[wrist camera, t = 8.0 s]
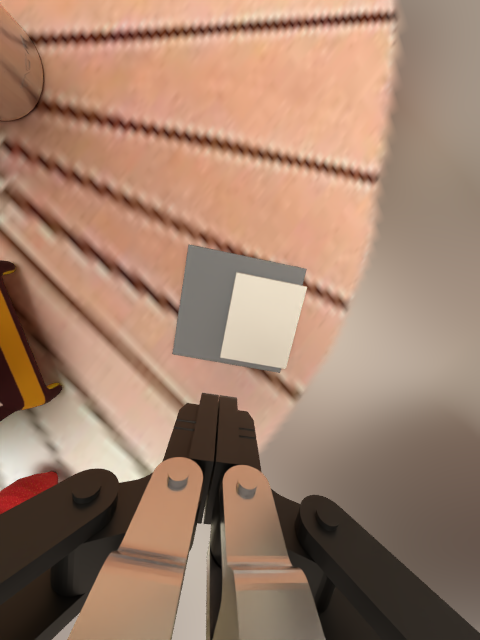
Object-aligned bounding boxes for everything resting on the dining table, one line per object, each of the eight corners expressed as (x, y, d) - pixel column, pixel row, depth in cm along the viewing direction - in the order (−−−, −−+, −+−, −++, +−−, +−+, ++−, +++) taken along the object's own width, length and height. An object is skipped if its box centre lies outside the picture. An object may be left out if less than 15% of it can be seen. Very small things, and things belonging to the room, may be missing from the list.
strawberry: (53, 500, 37) (-10, 584, 27) (21, 463, 36) (-59, 539, 26) (86, 484, 37) (33, 564, 27) (55, 446, 35) (-13, 517, 25)
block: (220, 357, 29) (285, 368, 29) (236, 272, 27) (307, 287, 27) (221, 348, 32) (280, 358, 33) (236, 271, 30) (299, 284, 30)
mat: (173, 353, 32) (172, 354, 32) (189, 244, 29) (188, 244, 29) (279, 371, 33) (279, 372, 33) (305, 268, 30) (306, 269, 30)
